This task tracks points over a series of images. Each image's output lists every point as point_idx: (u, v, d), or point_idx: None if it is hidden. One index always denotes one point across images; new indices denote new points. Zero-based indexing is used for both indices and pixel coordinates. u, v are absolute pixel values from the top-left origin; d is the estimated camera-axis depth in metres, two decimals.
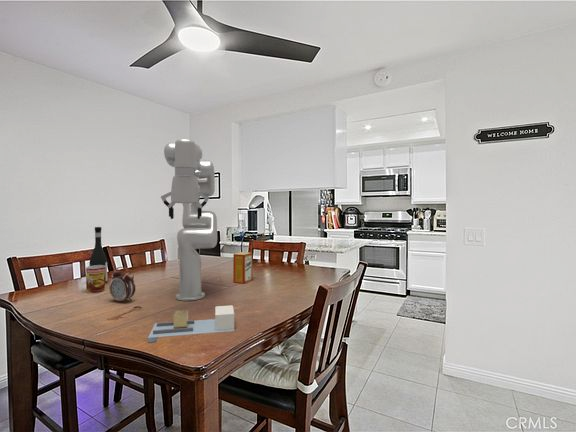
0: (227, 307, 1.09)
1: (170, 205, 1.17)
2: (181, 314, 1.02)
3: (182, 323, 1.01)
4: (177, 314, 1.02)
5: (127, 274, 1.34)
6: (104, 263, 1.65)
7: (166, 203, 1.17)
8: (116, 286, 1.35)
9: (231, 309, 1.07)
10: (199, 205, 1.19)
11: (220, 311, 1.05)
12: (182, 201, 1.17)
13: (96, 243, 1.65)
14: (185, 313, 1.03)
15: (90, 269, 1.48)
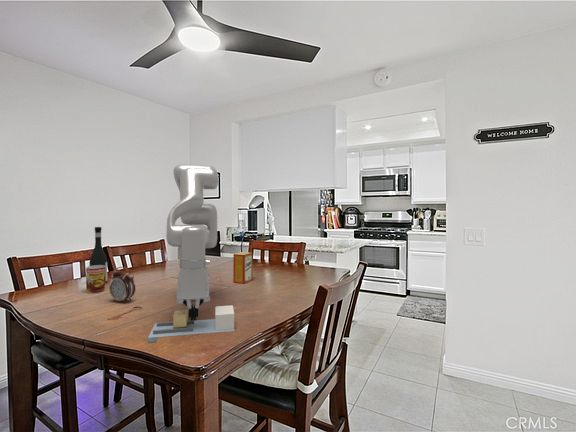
0: (227, 307, 1.09)
1: (190, 305, 1.03)
2: (181, 314, 1.02)
3: (182, 323, 1.01)
4: (176, 314, 1.02)
5: (127, 274, 1.34)
6: (104, 263, 1.65)
7: (186, 303, 1.03)
8: (116, 286, 1.35)
9: (231, 309, 1.07)
10: (197, 304, 1.03)
11: (220, 311, 1.05)
12: (190, 298, 1.02)
13: (96, 243, 1.65)
14: (185, 313, 1.03)
15: (90, 269, 1.48)
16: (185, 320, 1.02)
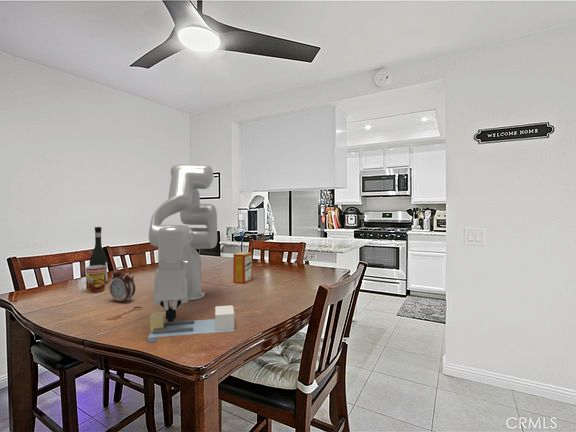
0: (227, 307, 1.09)
1: (167, 307, 1.01)
2: (157, 316, 1.00)
3: (158, 325, 1.00)
4: (153, 315, 1.00)
5: (127, 274, 1.34)
6: (104, 263, 1.65)
7: (163, 304, 1.01)
8: (116, 286, 1.35)
9: (231, 309, 1.07)
10: (174, 306, 1.02)
11: (220, 311, 1.05)
12: (167, 299, 1.01)
13: (96, 243, 1.65)
14: (162, 315, 1.01)
15: (90, 269, 1.48)
16: (162, 322, 1.00)
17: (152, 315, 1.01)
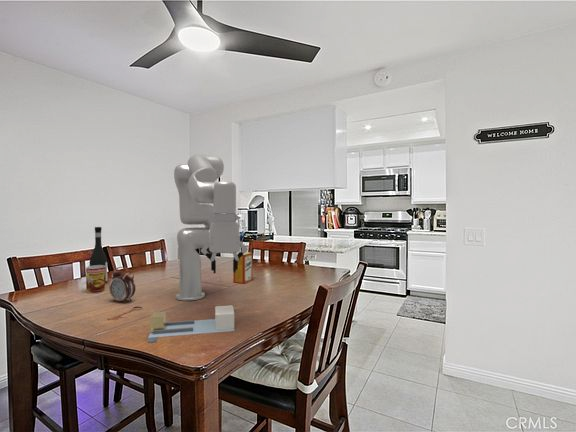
0: (227, 307, 1.09)
1: (213, 258, 1.04)
2: (158, 316, 1.00)
3: (159, 325, 1.00)
4: (154, 315, 1.00)
5: (127, 274, 1.34)
6: (104, 263, 1.65)
7: (208, 256, 1.04)
8: (116, 286, 1.35)
9: (231, 309, 1.07)
10: (236, 257, 1.06)
11: (220, 311, 1.05)
12: (222, 251, 1.04)
13: (96, 243, 1.65)
14: (162, 315, 1.01)
15: (90, 269, 1.48)
16: (162, 322, 1.00)
17: (152, 315, 1.01)
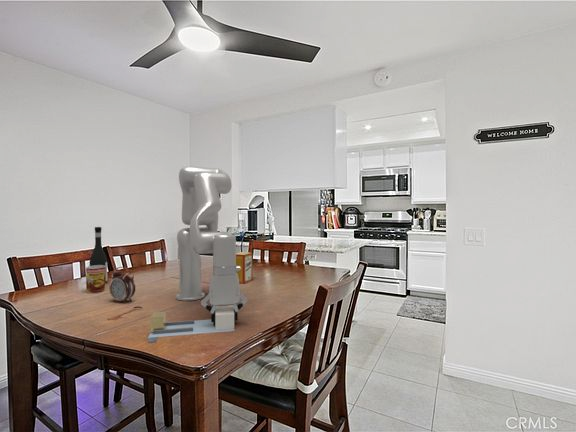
0: (227, 307, 1.09)
1: (213, 310, 1.05)
2: (158, 316, 1.00)
3: (159, 325, 1.00)
4: (154, 315, 1.00)
5: (127, 274, 1.34)
6: (104, 263, 1.65)
7: (208, 308, 1.05)
8: (116, 286, 1.35)
9: (231, 309, 1.07)
10: (236, 308, 1.06)
11: (220, 311, 1.05)
12: (221, 303, 1.04)
13: (96, 243, 1.65)
14: (162, 315, 1.01)
15: (90, 269, 1.48)
16: (162, 322, 1.00)
17: (152, 315, 1.01)
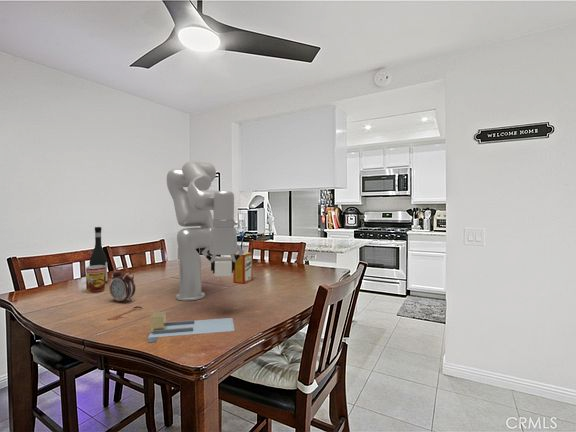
0: (225, 258, 1.21)
1: (212, 260, 1.16)
2: (158, 316, 1.00)
3: (159, 325, 1.00)
4: (154, 315, 1.00)
5: (127, 274, 1.34)
6: (104, 263, 1.65)
7: (208, 257, 1.16)
8: (116, 286, 1.35)
9: (229, 260, 1.19)
10: (233, 259, 1.18)
11: (219, 260, 1.17)
12: (220, 253, 1.16)
13: (96, 243, 1.65)
14: (162, 315, 1.01)
15: (90, 269, 1.48)
16: (162, 322, 1.00)
17: (152, 315, 1.01)
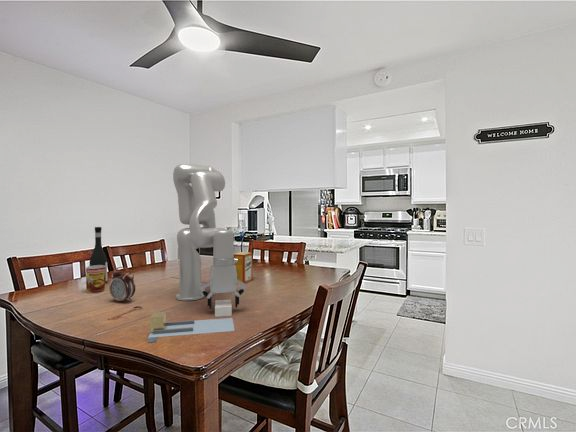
0: (226, 301, 1.22)
1: (209, 296, 1.17)
2: (158, 316, 1.00)
3: (159, 325, 1.00)
4: (154, 315, 1.00)
5: (127, 274, 1.34)
6: (104, 263, 1.65)
7: (205, 293, 1.17)
8: (116, 286, 1.35)
9: (229, 303, 1.20)
10: (237, 294, 1.19)
11: (219, 304, 1.18)
12: (221, 291, 1.17)
13: (96, 243, 1.65)
14: (162, 315, 1.01)
15: (90, 269, 1.48)
16: (162, 322, 1.00)
17: (152, 315, 1.01)
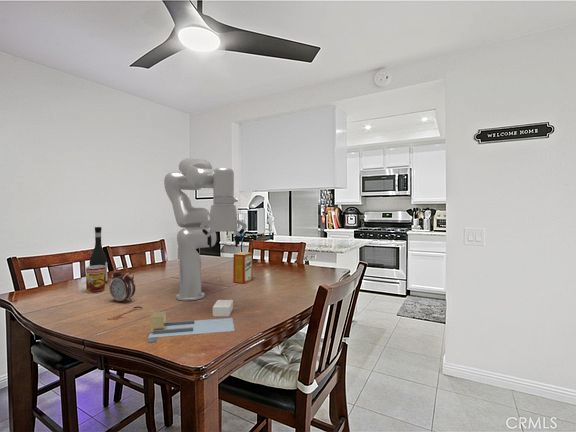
0: (227, 301, 1.22)
1: (209, 234, 1.16)
2: (158, 316, 1.00)
3: (159, 325, 1.00)
4: (154, 315, 1.00)
5: (127, 274, 1.34)
6: (104, 263, 1.65)
7: (205, 232, 1.16)
8: (116, 286, 1.35)
9: (229, 303, 1.20)
10: (237, 233, 1.18)
11: (219, 304, 1.18)
12: (221, 230, 1.16)
13: (96, 243, 1.65)
14: (162, 315, 1.01)
15: (90, 269, 1.48)
16: (162, 322, 1.00)
17: (152, 315, 1.01)
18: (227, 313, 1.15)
